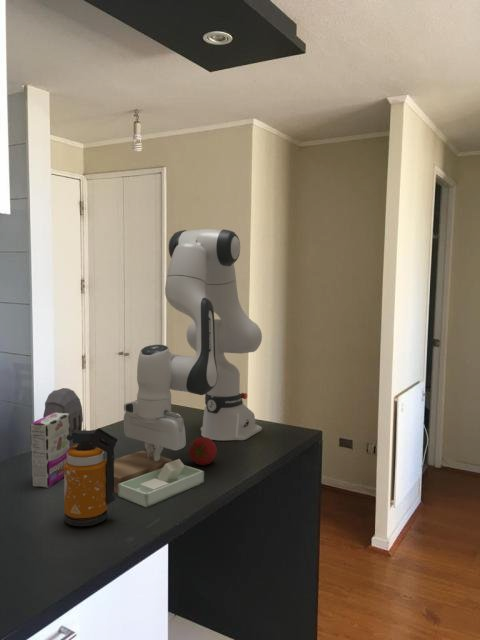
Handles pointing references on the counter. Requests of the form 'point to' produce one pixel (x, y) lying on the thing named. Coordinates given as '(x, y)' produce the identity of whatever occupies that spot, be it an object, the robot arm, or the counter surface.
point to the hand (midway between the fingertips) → (153, 459)
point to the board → (135, 466)
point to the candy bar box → (49, 449)
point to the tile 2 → (171, 471)
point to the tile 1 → (152, 485)
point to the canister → (89, 477)
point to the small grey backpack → (66, 408)
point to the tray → (183, 482)
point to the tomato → (202, 451)
